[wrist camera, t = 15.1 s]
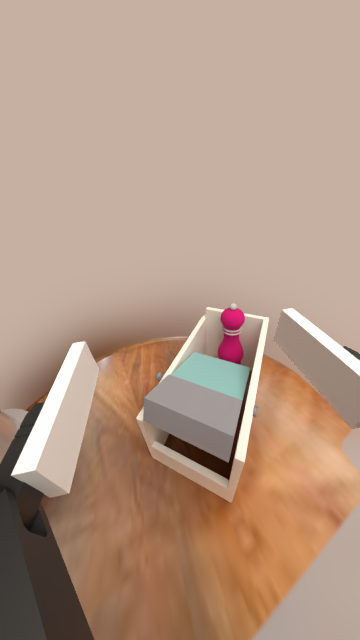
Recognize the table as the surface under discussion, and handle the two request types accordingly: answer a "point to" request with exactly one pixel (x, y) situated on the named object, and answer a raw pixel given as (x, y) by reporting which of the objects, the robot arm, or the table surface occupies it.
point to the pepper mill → (231, 335)
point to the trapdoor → (200, 403)
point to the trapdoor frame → (252, 341)
